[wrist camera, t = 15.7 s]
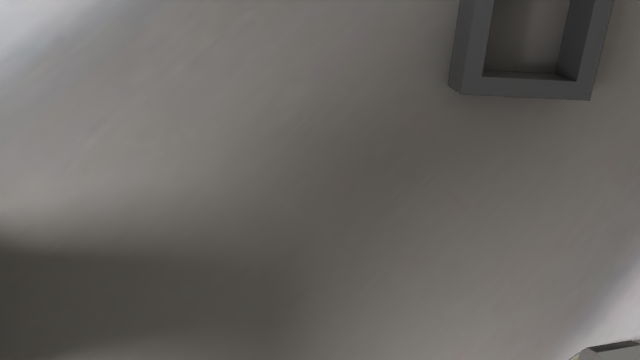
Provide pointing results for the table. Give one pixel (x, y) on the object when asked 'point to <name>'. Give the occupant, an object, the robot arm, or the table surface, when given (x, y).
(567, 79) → the socket
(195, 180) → the table surface
